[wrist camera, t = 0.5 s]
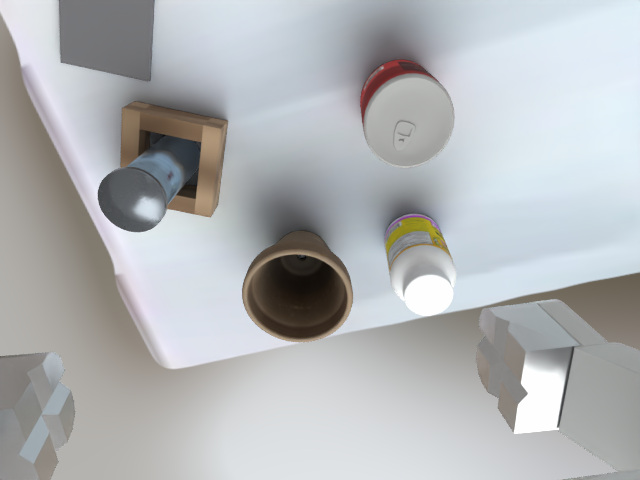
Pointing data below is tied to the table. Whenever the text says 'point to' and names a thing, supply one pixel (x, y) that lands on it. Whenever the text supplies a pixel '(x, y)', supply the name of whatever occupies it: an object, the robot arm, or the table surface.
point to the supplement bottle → (420, 264)
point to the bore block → (187, 126)
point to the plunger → (148, 184)
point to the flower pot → (298, 289)
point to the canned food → (405, 114)
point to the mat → (108, 35)
